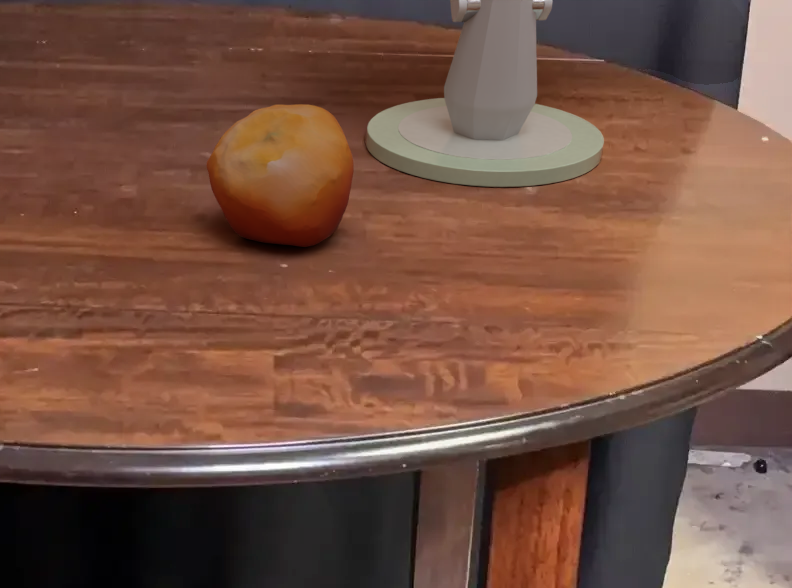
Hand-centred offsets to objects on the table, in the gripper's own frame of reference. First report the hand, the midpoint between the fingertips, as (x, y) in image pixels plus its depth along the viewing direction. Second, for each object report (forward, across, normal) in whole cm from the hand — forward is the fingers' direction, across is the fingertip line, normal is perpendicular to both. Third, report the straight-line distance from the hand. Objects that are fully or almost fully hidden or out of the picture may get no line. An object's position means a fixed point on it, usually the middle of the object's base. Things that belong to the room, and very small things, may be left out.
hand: (502, 16), depth 93 cm
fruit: (+15, -15, -4) cm, 22 cm away
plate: (+5, 0, +6) cm, 8 cm away
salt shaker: (+5, 0, +6) cm, 7 cm away
